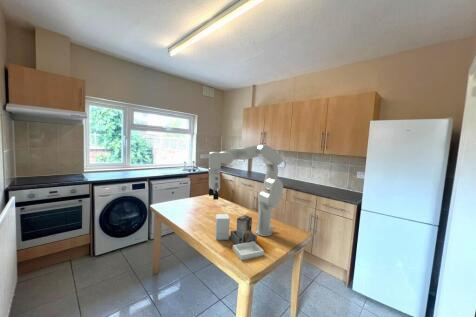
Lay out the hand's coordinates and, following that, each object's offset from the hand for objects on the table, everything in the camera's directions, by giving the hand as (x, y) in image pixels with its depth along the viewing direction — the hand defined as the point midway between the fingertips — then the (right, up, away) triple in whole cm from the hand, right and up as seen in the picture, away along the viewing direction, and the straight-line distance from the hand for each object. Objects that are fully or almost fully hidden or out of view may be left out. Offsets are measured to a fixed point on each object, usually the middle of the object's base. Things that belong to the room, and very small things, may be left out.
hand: (213, 197), depth 126 cm
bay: (+20, -31, +7) cm, 37 cm away
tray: (+22, -32, -8) cm, 40 cm away
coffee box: (+20, -31, +7) cm, 37 cm away
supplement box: (+4, -30, +10) cm, 32 cm away
